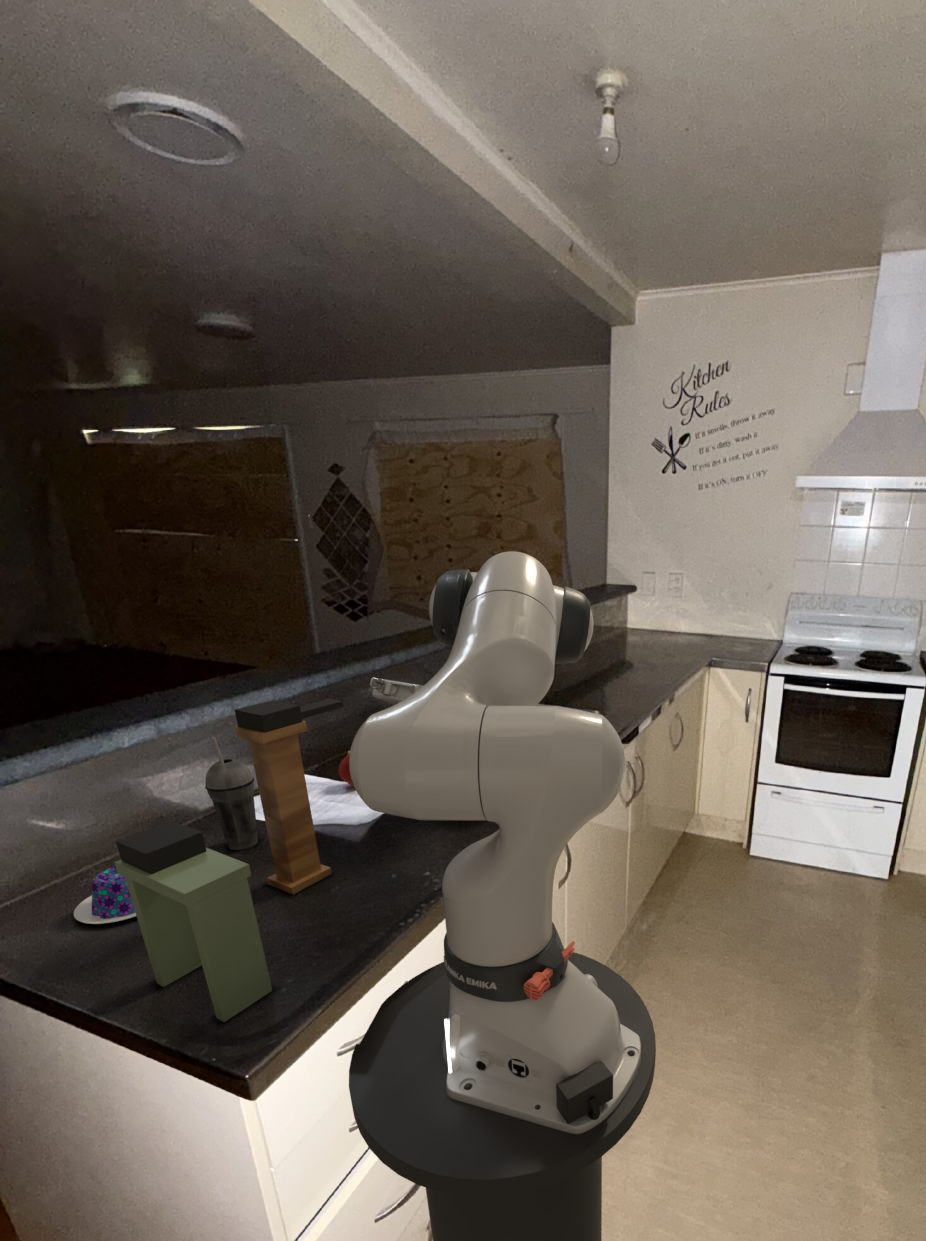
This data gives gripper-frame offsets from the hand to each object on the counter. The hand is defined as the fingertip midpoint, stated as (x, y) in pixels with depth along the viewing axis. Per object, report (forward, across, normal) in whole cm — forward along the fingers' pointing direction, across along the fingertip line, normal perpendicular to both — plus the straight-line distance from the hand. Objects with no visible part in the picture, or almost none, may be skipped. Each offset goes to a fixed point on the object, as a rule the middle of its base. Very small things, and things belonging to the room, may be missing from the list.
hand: (393, 685), depth 107 cm
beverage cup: (+3, -20, +33) cm, 39 cm away
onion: (-21, -24, +19) cm, 38 cm away
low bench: (+24, +11, +45) cm, 52 cm away
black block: (+33, +8, +30) cm, 45 cm away
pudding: (+20, -17, +43) cm, 51 cm away
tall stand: (+6, -1, +34) cm, 35 cm away
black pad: (+15, -2, +10) cm, 18 cm away
